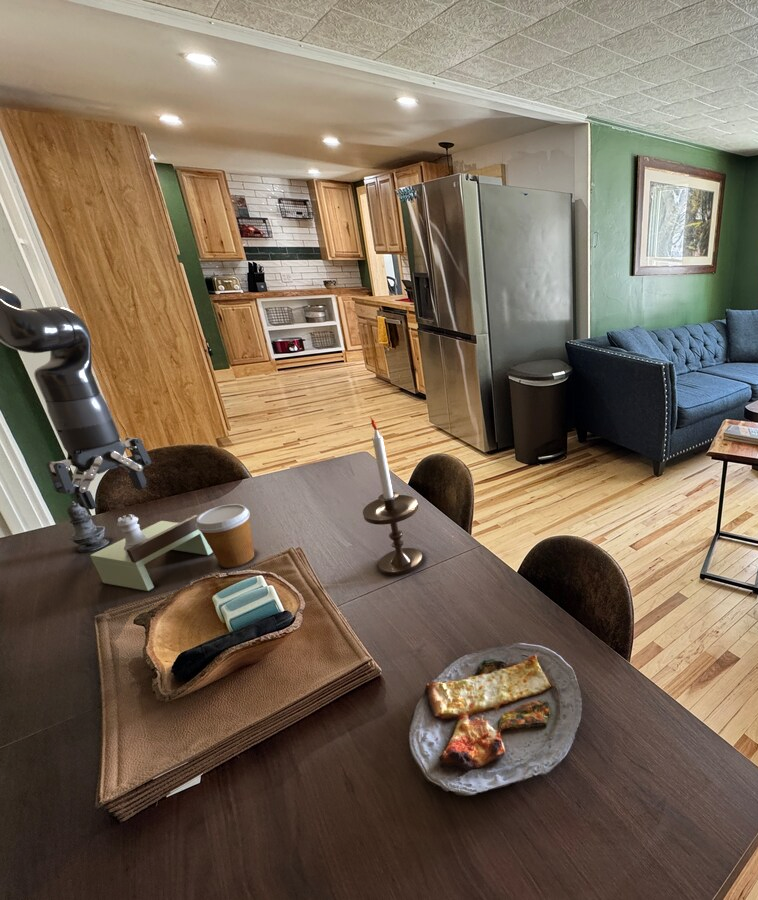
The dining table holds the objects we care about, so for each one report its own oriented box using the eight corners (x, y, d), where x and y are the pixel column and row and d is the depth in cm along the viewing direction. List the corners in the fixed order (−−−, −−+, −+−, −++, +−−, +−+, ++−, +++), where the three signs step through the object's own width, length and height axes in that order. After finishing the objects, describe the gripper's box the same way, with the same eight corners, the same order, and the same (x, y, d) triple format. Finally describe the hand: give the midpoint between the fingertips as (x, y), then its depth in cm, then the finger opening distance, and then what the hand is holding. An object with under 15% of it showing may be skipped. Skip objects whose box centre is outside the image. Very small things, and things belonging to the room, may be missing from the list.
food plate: (403, 825, 58) (399, 807, 56) (416, 674, 78) (412, 658, 77) (599, 768, 64) (599, 750, 63) (563, 642, 85) (562, 627, 83)
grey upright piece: (69, 550, 110) (46, 505, 105) (99, 537, 115) (78, 493, 111) (87, 554, 109) (65, 509, 104) (117, 540, 114) (97, 496, 109)
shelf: (103, 583, 99) (83, 542, 96) (171, 545, 112) (156, 509, 108) (148, 591, 97) (129, 550, 93) (212, 552, 110) (199, 515, 106)
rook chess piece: (125, 550, 98) (110, 517, 95) (153, 542, 101) (140, 509, 98) (126, 559, 95) (110, 525, 92) (155, 550, 98) (141, 517, 95)
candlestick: (404, 582, 100) (374, 427, 86) (363, 572, 103) (329, 421, 90) (436, 554, 110) (414, 410, 96) (398, 545, 113) (371, 405, 99)
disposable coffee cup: (271, 553, 109) (257, 508, 105) (227, 577, 101) (210, 529, 97) (246, 543, 113) (231, 499, 108) (201, 565, 105) (183, 518, 100)
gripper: (112, 407, 94) (141, 480, 100) (17, 431, 81) (57, 513, 88) (141, 410, 93) (169, 484, 99) (49, 435, 80) (88, 518, 86)
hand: (116, 497), depth 93 cm, fingers open, 8 cm apart
